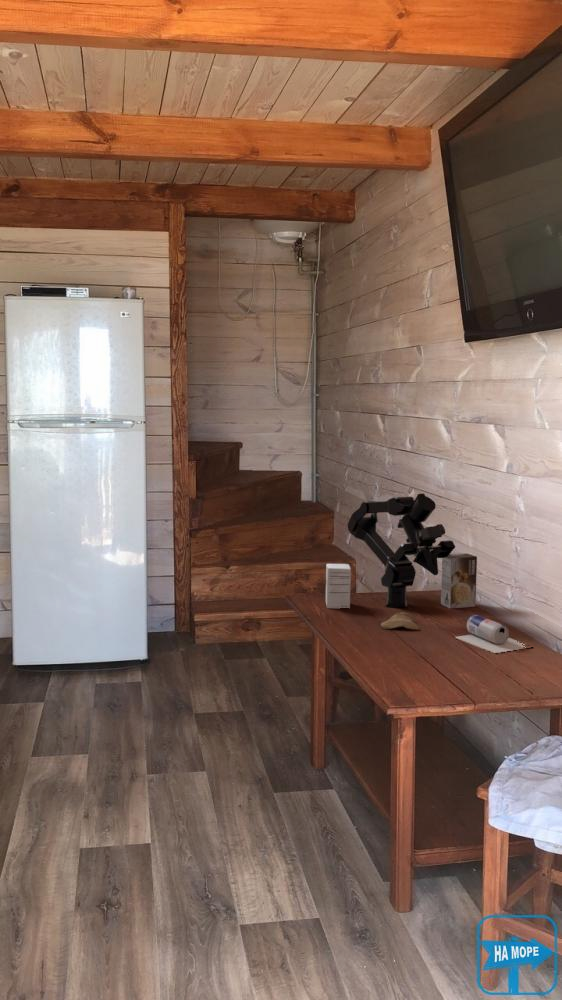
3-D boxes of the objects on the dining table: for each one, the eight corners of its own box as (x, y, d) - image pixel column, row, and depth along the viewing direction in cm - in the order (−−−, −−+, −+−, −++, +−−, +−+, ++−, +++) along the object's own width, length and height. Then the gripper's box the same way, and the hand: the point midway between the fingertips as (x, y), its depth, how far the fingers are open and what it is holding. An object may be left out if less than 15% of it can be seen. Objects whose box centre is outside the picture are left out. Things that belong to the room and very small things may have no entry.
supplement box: (325, 602, 274) (326, 563, 272) (348, 603, 274) (349, 563, 272) (326, 608, 266) (327, 567, 265) (350, 609, 266) (351, 568, 265)
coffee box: (465, 602, 278) (467, 552, 276) (475, 607, 271) (478, 556, 270) (439, 604, 275) (441, 554, 273) (449, 608, 269) (452, 557, 267)
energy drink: (483, 616, 241) (512, 627, 230) (478, 634, 241) (506, 646, 230) (468, 612, 239) (496, 623, 228) (463, 631, 239) (491, 643, 228)
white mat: (455, 637, 236) (455, 636, 236) (492, 632, 242) (492, 631, 242) (495, 653, 222) (495, 652, 222) (533, 647, 228) (533, 646, 228)
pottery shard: (420, 636, 244) (417, 619, 253) (420, 622, 242) (417, 605, 251) (381, 637, 245) (380, 619, 254) (381, 623, 243) (379, 606, 252)
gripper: (401, 516, 252) (423, 561, 243) (452, 513, 260) (475, 556, 252) (385, 539, 260) (405, 583, 251) (435, 535, 268) (456, 577, 260)
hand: (436, 574), depth 253 cm, fingers closed
